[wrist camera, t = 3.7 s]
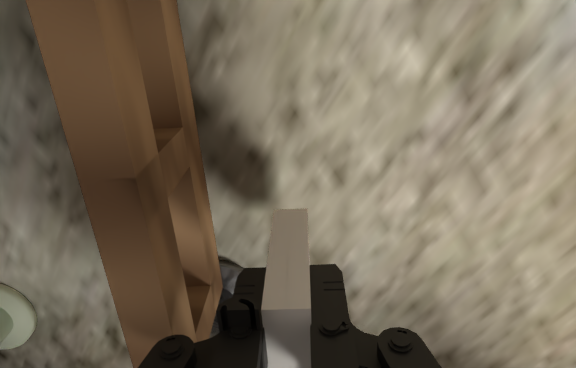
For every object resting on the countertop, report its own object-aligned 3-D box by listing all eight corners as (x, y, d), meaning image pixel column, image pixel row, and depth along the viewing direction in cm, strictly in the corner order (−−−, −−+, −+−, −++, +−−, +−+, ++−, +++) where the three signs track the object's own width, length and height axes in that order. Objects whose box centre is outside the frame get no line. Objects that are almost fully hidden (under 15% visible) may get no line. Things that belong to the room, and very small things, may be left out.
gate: (222, 287, 21) (189, 409, 15) (192, 288, 21) (145, 410, 15) (161, -90, 15) (56, -159, 8) (117, -86, 15) (-19, -152, 9)
